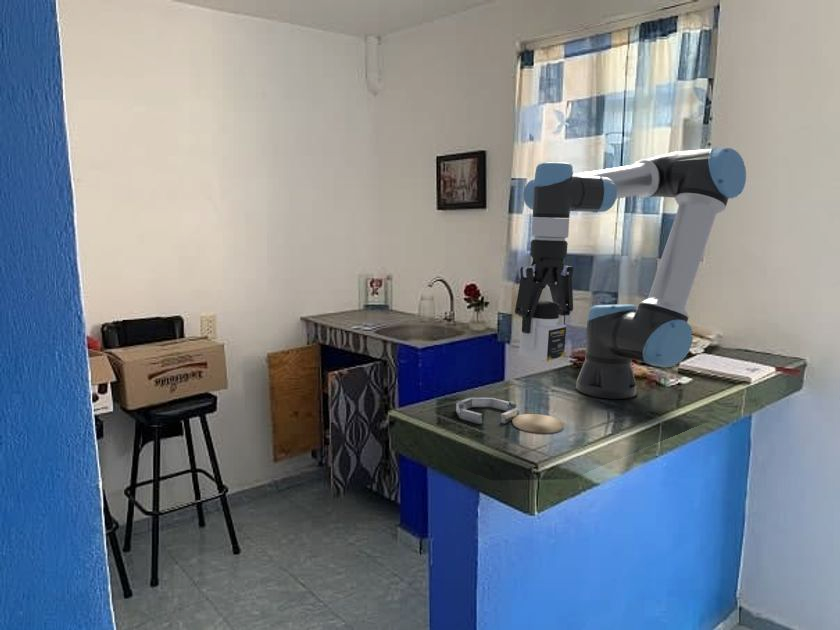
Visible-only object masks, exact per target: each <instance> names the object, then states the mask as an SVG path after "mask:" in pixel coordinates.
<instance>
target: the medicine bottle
mask: <svg viewBox="0 0 840 630" xmlns="http://www.w3.org/2000/svg"><path fill="white" fill-rule="evenodd" d="M533 318H536V327H535V343H534V349H532V350H531V349H527V348H524V347H522V343H523V332H522V323H521V324H520V331H519V332H520V333H519V350H518V356H519V357H520V358H526V359H531V360H534V361H535V360H536V361H539V362H545V363H548V362H552V361H556V360H559V359H562V358H564V357H565V347H566V335H567V334H566V333H567V325H566V324H565V325H563V324H557V322H558V319H559V305H558V304H557V303H555V302H553V301H550V300H539V301H538V304H537V307H536V310H535V313H534V315H533Z"/></svg>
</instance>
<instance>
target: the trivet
mask: <svg viewBox="0 0 840 630" xmlns="http://www.w3.org/2000/svg"><path fill="white" fill-rule="evenodd" d="M511 423H512V425H513V427H515V428H517V429H519V430H521V431H524V432H528V433H534V434H554V433H558V432H561V431H562V430H564V426H565V425H564V422H563V421H562V420H560V419H559V418H556V417H554V416H551V415H546V414H541V413H540V414H539V413H525V414H524V413H523V414H517V416H516V417H514V418H513V420H512V421H511Z"/></svg>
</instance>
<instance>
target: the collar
mask: <svg viewBox="0 0 840 630" xmlns="http://www.w3.org/2000/svg"><path fill="white" fill-rule="evenodd" d="M455 406H456V407H455V409H456V410H455V412H456V414H457V415H458V418H459V419H461V420H463V421H468V422H471V423H475V424H482V423H483V413H480V412H476V411H473V410H469V409H471V408H494V409H497V410H501V411H505V412H503V413H501V415H500V423H501V424H504V425H505V424H508V423H510V422H512V420H513V418H514V417H516V416H518V408H517V404H516V403H515V401H514V400H509V401H508V400H502V399H500V398H499V399H498V398H494V397H468V398H465V399H463V400H457V402H456V405H455Z"/></svg>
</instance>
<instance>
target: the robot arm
mask: <svg viewBox="0 0 840 630" xmlns="http://www.w3.org/2000/svg"><path fill="white" fill-rule="evenodd" d="M573 170H574V169H573V165H572V163H568V162H559V161H557V162H556V161H554V162H553V161H552V162H551V161H550V162H540V163H539V164H537V166H536V168H535V173H534V178H533V179H531V180H529V181H528V182H527V183H526V185H525V187H524V189H523V197H522V198H523V201H524V204H525V206H526V207H527V208H529V209H530V210H532V222H531V237H533V238H534V239H532V240H530V253H529V255H530V257H531V258H532V262H531V264H530V266H521V267H520V270H519V271H520V273H519V274H520V279H519V280H520V281H519V286H518V287H519V288H518V290H517V292H518V293H517V296H516V297H517V298H516V303H515V308H514V314H515V315H518V317H521V318H522V321H521V324H522V332H523V343H522V347H524V348H527V349H531V350H532V349H534V343H535V327H536V318H533V315H534V313H535V310H536V307H537V304H538V301H540V298H541V295H542V293H543V289H545V288H546V287H547V286H548V287H549V291H550V294H551V299H552V302H555V303H557V304H558V305H559V319H558V322H557V324H563V325H566V316H570V314H571V312H573V310H574V296H573V295H574V294H573V273H574V266H571V265H564V259H566V258H567V255H568V245H569V244H568V243H569V242H567V240H566V239H567V238H569V234H570V233H569V232H570V231H569V230H570V218H571V217H570V214H571V212H584V213H585V212H590V213H591V212H592V213H603V212H607V211H608V210H611V208H612V207H613V206H614V205H615V203H616V200H617V199H624V198H629V197H634V196H636V197H639V198H643V199H645V198H651V197H653V198H654V197H655V198H673V199H674V200H675V201H676V203H677V205H678V208H677V212H676V214H675V217H674V220H673V222H672V226H671V228H670V232H669V235H668V238H667V241H666V243H665V247H664V249H663V253H662V255H661V258H660V262H659V264H658V268H657V271H656V273H655V276H654V279H653V282H652V285H651V289H650V291H649V295H648V297H647V298H646V299H644V300H642V301H640V302H639V303H638V307H637V306H636V305H635V304H626V303H624V304H620V303H619V304H615V303H614V304H598V305H597V304H596V305H593V306H592V307H591V308H589V311H588V317H587V324H586V338H585V339H586V342H585V343H586V344H585V356H584V358H585V360H584V362H583V365H582V367H581V369H580V371H579V374H578V377H577V379H576V383H575V385H576V386H575V388H576V390H577V391H578V392H580V393H582V394H585V395H587V396H592V397H596V398H601V399H602V398H603V399H610V400H611V399H612V400H619V399H620V400H622V399H629V398H633V397H635V396H636V394H637V383H636V382H637V381H636V379H635V375H634V370H633V366H632V361H633V360H634V361H638V362H641V363H645V364H647V365H649V366H655V367H660V368H670V367H674V366H675V365H677V363H680V362H681V361H683V360H684V359H685V358H686V356H687V355H688V354H689V352H690V349H691V347H692V345H693V339H694V336H693V335H692V334H693V328H692V326H691V325H690V324H689V323H688V321H689V314H688V313H687V311H686V309H685V307H686V305H687V302H688V299H689V296H690V294H691V293H690V292H691V290H692V287H693V284H694V282H695V279H696V276H697V273H698V270H699V266H700V264H701V262H702V261H701V260H702V257H703V254H704V251H705V249H706V245H707V242H708V240H709V236H710V233H711V230H712V228H713V224H714V222H715V218H716V215H717V214H719V213H722V212H723V211H725V209H726V207H727V204H728V201H729V199H731V200H732V199H734V198H736V197H738V196H739V195H741V194H742V192H743V191H744V189H745V186H746V182H747V181H746V180H747V170H746V165H745V162H744V159H743V157H742V156H741V154H740V153H739V152H738V150H735V149H734V148H731V147H717V146H716V147H712V148H704V149H703V148H702V149H693V150H680V151H673V152H669V153H665V154H661V155H656V156H653V157H649V158H644V159H640V160H638V161H636V162H634V163H633V164H631V165H623V166H618V167H611V168H605V169H599V170H591V171H584V172H577V173H574V171H573Z"/></svg>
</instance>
